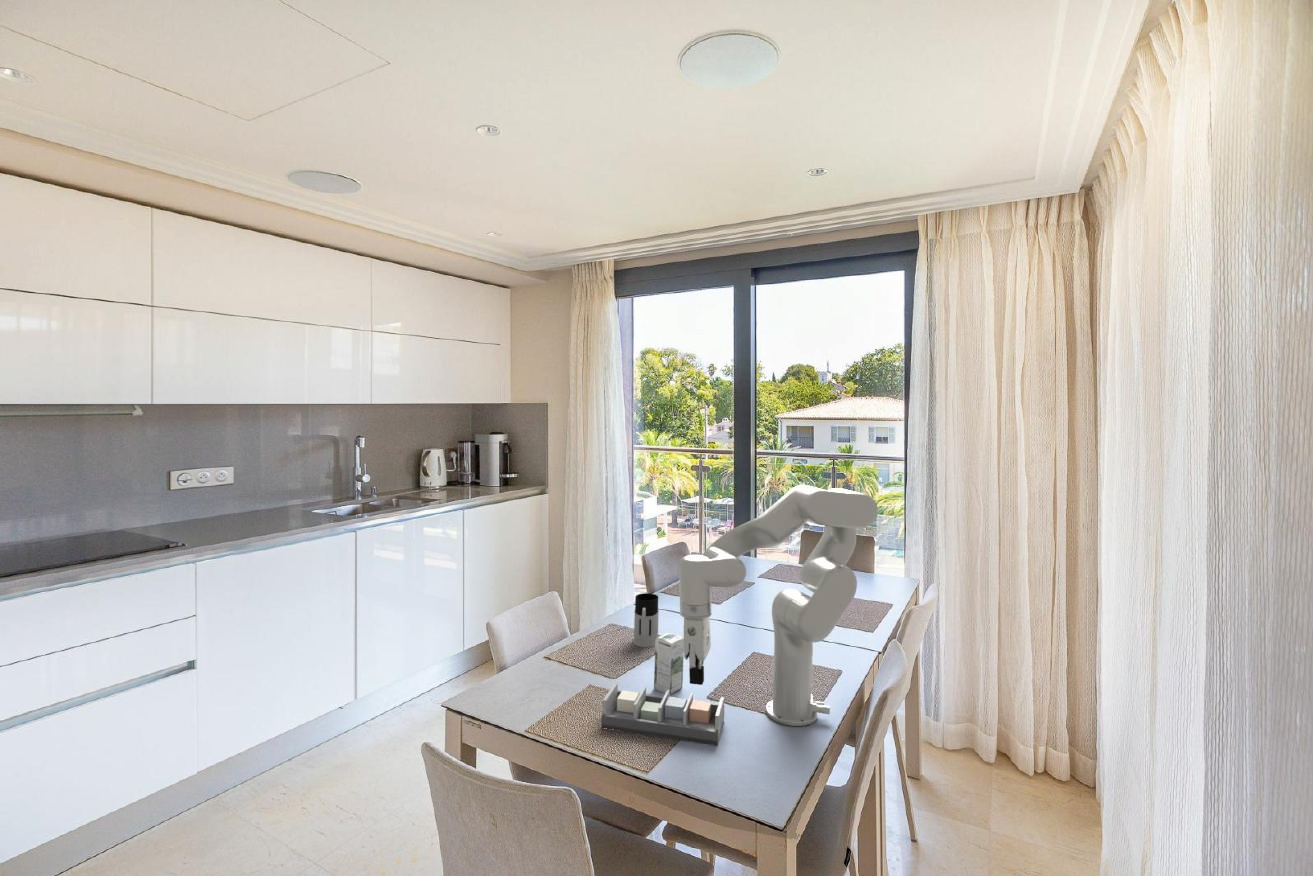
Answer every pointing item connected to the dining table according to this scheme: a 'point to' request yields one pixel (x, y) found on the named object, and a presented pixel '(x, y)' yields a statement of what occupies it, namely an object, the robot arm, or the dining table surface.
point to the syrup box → (668, 663)
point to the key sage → (650, 711)
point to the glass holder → (646, 620)
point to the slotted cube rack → (662, 719)
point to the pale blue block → (675, 708)
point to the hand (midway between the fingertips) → (696, 682)
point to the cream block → (626, 701)
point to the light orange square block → (700, 711)
